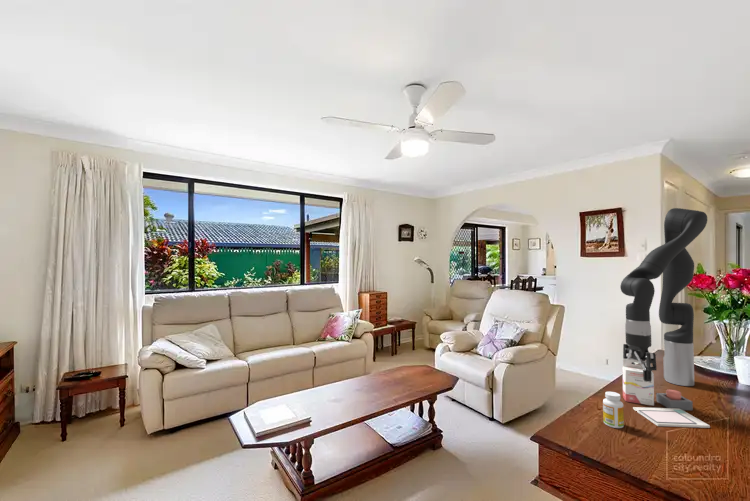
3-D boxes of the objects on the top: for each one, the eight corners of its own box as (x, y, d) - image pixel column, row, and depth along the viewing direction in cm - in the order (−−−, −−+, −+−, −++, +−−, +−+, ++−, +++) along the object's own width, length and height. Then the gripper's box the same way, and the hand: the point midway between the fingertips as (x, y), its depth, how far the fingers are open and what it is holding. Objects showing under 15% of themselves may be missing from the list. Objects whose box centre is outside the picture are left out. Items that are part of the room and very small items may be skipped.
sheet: (633, 409, 120) (632, 406, 120) (679, 410, 119) (679, 407, 119) (657, 426, 108) (657, 423, 108) (709, 427, 107) (709, 424, 107)
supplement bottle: (620, 421, 111) (619, 391, 111) (626, 429, 106) (625, 398, 106) (601, 419, 113) (600, 389, 113) (606, 427, 108) (605, 395, 108)
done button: (663, 397, 125) (663, 389, 125) (675, 397, 124) (675, 389, 124) (672, 402, 121) (671, 393, 121) (684, 402, 120) (684, 393, 120)
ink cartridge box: (625, 402, 126) (624, 361, 126) (622, 397, 131) (621, 357, 131) (654, 406, 122) (653, 364, 123) (650, 400, 127) (649, 360, 127)
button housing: (656, 401, 126) (656, 393, 126) (677, 401, 126) (676, 393, 126) (670, 409, 119) (670, 400, 119) (692, 410, 119) (692, 401, 119)
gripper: (615, 328, 134) (616, 370, 133) (640, 336, 120) (641, 383, 119) (636, 328, 133) (637, 371, 133) (663, 336, 119) (664, 384, 119)
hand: (639, 376), depth 126 cm, fingers open, 8 cm apart
